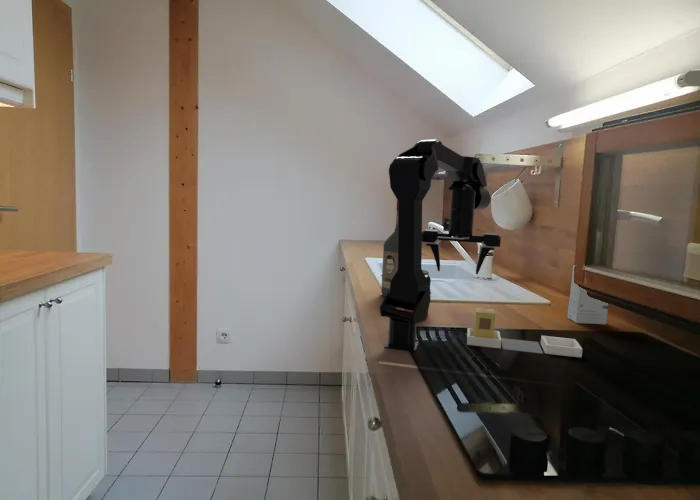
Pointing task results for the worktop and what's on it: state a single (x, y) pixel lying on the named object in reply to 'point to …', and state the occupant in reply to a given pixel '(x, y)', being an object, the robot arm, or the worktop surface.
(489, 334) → the tan carton
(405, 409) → the worktop surface
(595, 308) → the skincare box
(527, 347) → the slate coaster
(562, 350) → the white square tray
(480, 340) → the shallow white dish
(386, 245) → the liquor
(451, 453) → the worktop surface
